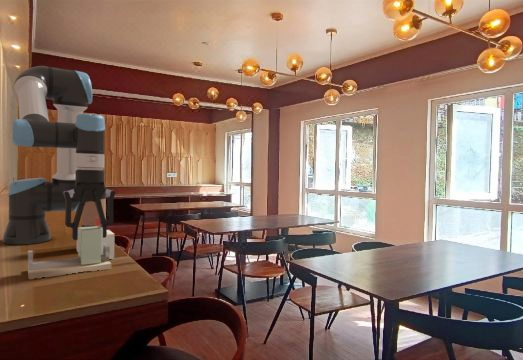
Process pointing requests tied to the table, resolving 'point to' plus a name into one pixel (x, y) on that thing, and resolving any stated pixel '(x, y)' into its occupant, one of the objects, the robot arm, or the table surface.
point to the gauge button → (97, 221)
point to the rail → (65, 265)
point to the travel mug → (92, 212)
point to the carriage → (90, 245)
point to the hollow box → (109, 243)
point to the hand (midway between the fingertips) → (89, 249)
